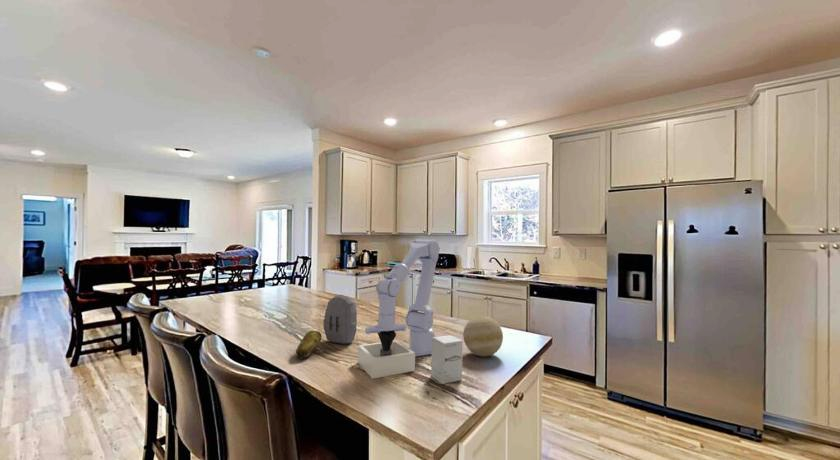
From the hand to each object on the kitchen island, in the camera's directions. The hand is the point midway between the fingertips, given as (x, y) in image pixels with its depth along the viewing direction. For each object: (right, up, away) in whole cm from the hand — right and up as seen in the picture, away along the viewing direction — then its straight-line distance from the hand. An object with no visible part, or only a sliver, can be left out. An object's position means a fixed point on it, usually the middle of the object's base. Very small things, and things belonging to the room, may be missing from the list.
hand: (385, 353), depth 117 cm
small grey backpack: (-22, -5, +25) cm, 33 cm away
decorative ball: (+36, -6, +13) cm, 39 cm away
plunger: (0, -4, 0) cm, 4 cm away
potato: (-30, -4, +10) cm, 32 cm away
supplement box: (+20, -5, -8) cm, 23 cm away
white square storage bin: (0, -5, 0) cm, 5 cm away
